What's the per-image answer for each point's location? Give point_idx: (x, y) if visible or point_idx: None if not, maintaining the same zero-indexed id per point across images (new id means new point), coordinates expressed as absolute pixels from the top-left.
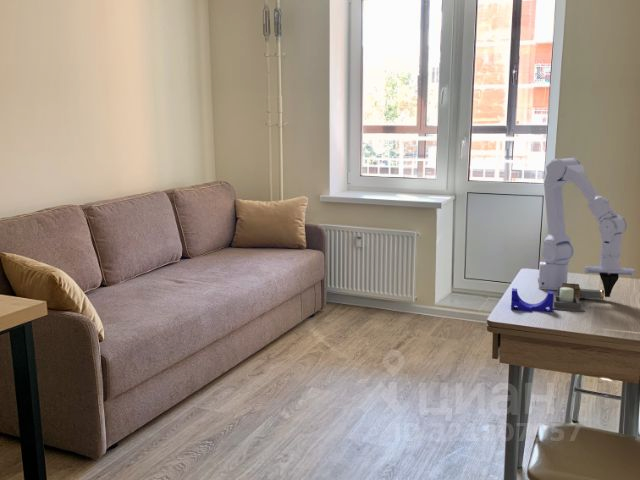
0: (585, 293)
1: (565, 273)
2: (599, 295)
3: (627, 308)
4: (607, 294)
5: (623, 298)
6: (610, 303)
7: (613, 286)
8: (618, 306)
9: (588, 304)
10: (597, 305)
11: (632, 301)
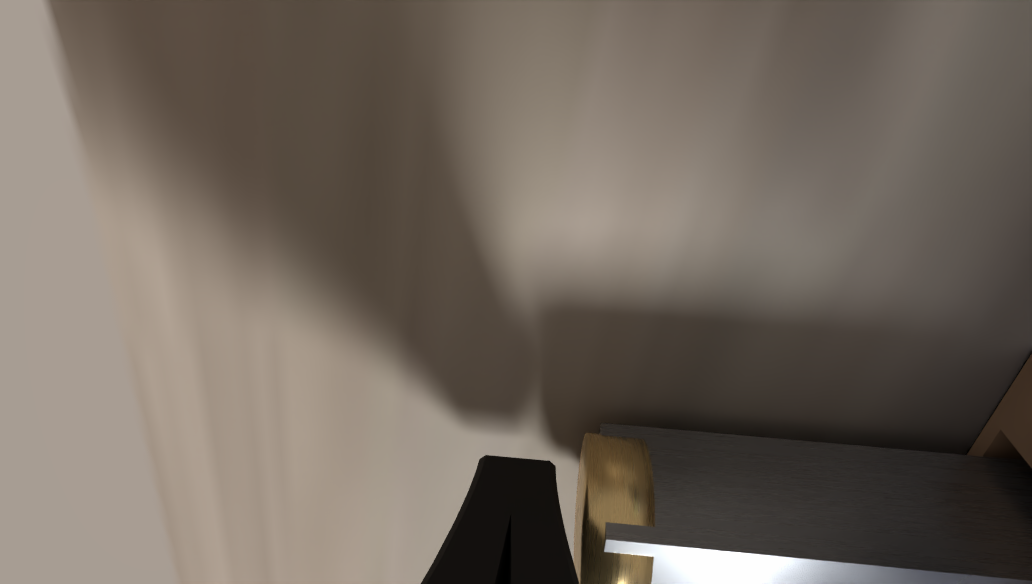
0: (935, 523)
1: None
2: (663, 480)
3: (184, 19)
4: (521, 490)
5: (292, 535)
6: (488, 306)
7: None
8: (362, 139)
9: (960, 169)
10: (784, 128)
11: (170, 441)
